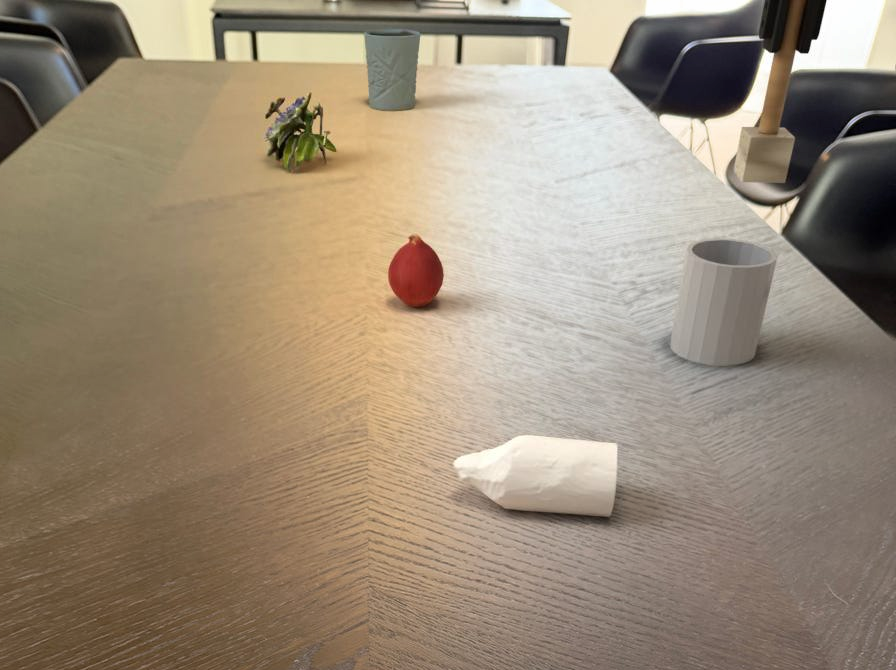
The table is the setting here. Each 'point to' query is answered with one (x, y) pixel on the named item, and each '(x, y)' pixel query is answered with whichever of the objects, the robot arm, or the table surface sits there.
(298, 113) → the passion flower
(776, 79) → the mallet
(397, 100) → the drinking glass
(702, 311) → the faceted pen holder
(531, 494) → the white tapered cylinder
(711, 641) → the table surface
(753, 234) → the table surface
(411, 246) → the onion
